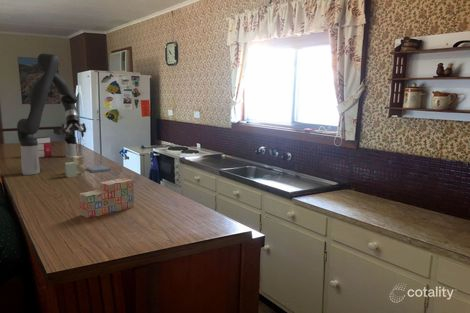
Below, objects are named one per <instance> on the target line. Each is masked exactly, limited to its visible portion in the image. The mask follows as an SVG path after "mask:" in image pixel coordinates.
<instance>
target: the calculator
mask: <svg viewBox="0 0 470 313" xmlns="http://www.w3.org/2000/svg"><path fill="white" fill-rule="evenodd" d="M34 138H35V139H36V140H37V141H38V154H39V159H40V158H49V157H52V143H51V137H50V136H41V137H40V136H39V137H34Z"/></svg>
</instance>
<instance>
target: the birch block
mask: <svg viewBox="0 0 470 313" xmlns="http://www.w3.org/2000/svg"><path fill="white" fill-rule="evenodd" d="M72 162H75V163H76V168H77V175H78V174H85V173H86V170H85V169H86V167H85V156H83V155H77V156H73V157H72Z"/></svg>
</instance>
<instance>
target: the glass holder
mask: <svg viewBox="0 0 470 313" xmlns="http://www.w3.org/2000/svg"><path fill="white" fill-rule="evenodd" d="M80 140H81V138H79V139H78V141H77V140H76V136H69V138H66V136H65V137H64V146H65V148H64V150H65V158H72V159H73V156H78V153H79V152H80V151H81V150H82V149H83V148H84V146H85V144H83V145H82V147H81V148H80V149H79V150H78V151H77V148H78V147H77V144H79V143H80V142H79V141H80ZM82 141H85V140H84V139H83V138H82Z"/></svg>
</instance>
